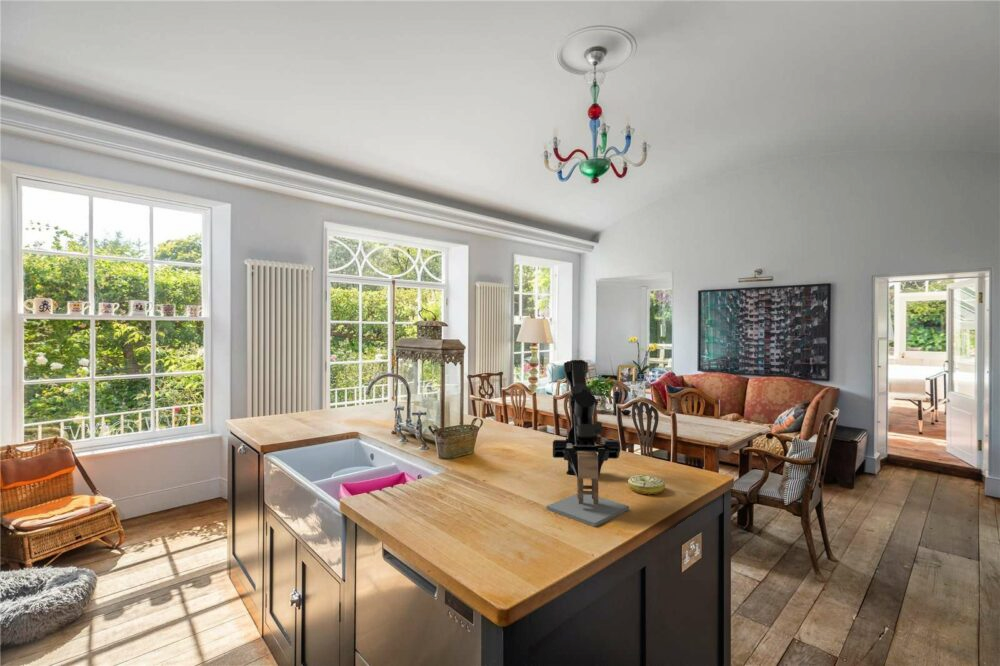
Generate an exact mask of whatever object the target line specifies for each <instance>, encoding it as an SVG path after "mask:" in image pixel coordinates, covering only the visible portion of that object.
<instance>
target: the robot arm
mask: <svg viewBox="0 0 1000 666" xmlns="http://www.w3.org/2000/svg"><path fill="white" fill-rule="evenodd" d="M588 373H589V362H588V361H585V360H583V359H570V360H567V361H566V362H564V363H563V374H564V375H565V380H566V382H567V383H568V385H569V388H570V389H569V391H570V395H569V396H568V405H569V406H568V407H570V417H571V418H570V419H571V420H570V421H571V426H570V429H569V431H568V432H567V434H566V435H567V436H566V437H567V438H565V439H554V440H553V441H552V458H555V459H557V458H558V459H559V458H561V459H563V461H567V471H566V474H567V475H575V476H576V478H577V477H578V466H577V451H596V453H597V455H598V479H600V475H601V470H602V467H603V464H604V462H607V461H608V460H609V459H614V460H615V459H616V460H617V459H618V458H619V456H620V453H621V443H620V442H619V441H618V440H617V439H614V440H612V439H611V440H608V439H607V440H604V444H596V443H597V435H598V436H599V435H600V436H601V435H602V434H603V424H602V422H601V421H600V422H594V417H593V416H594V414H595V407H597V405H598V399H597V398H596V397H595V395H594V394H593V392H592V388H590V387H589V386H588V385H587V381H586V377H587V374H588Z"/></svg>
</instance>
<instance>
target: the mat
mask: <svg viewBox="0 0 1000 666" xmlns="http://www.w3.org/2000/svg"><path fill="white" fill-rule="evenodd" d="M546 510H547V511H550V512H552V513H555V514H558V515H560V516H564V517H566V518H569V519H572V520H575V521H578V522H580V523H583V524H586V525H587V526H591V527H594V528H596V527H597V526H600V525H602V524H604V523H606V522H607V521H609V520H612V519H614V518H616V517H618V516H620V515H622V514H623V512H624V513H626V512H628V511H629V510H630V505H626V504H624V503H620V502H616V501H614V500H611V499H607V498H603V497H602V496H601V497H600V496H598V505H594V503H593V499H592V495H583V504H579V499H578V497H577V493H575V494H573V495H570V496H568V497H564V498H562V499H560V500H557V501H555V502H553V503H550V504H548V505H546ZM627 510H628V511H627ZM625 511H626V512H625ZM621 513H622V514H621ZM619 514H620V515H619ZM617 515H618V516H617ZM615 516H616V517H615ZM613 517H614V518H613Z"/></svg>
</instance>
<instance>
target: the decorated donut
mask: <svg viewBox="0 0 1000 666" xmlns="http://www.w3.org/2000/svg"><path fill="white" fill-rule="evenodd" d="M627 483H628V486H629V488H630V490H632V491H633V492H635V494H636V493H637V494H640V495H645V494H648V496H652V495H651V494H656V495H658V494H657V493H659V494H661V493H662V492H663V491H664V489H665V482H664V480H663V479H661V478H659V477H656V476H652V475H645V474H643V475H642V474H640V475H639V474H638V475H632V476H630V478H628V480H627Z"/></svg>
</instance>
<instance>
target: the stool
mask: <svg viewBox="0 0 1000 666" xmlns="http://www.w3.org/2000/svg"><path fill="white" fill-rule="evenodd" d="M577 466H578V477H577V476H576V479H577V480H576V483H577V488H576V489H577V493H576V494H577V497H578V499H579V504H583V495H592V499H593V503H594V505H598V497H599V478H598V452H596V451H577ZM584 479H589V480H590V479H591V485H586V484H584Z"/></svg>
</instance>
